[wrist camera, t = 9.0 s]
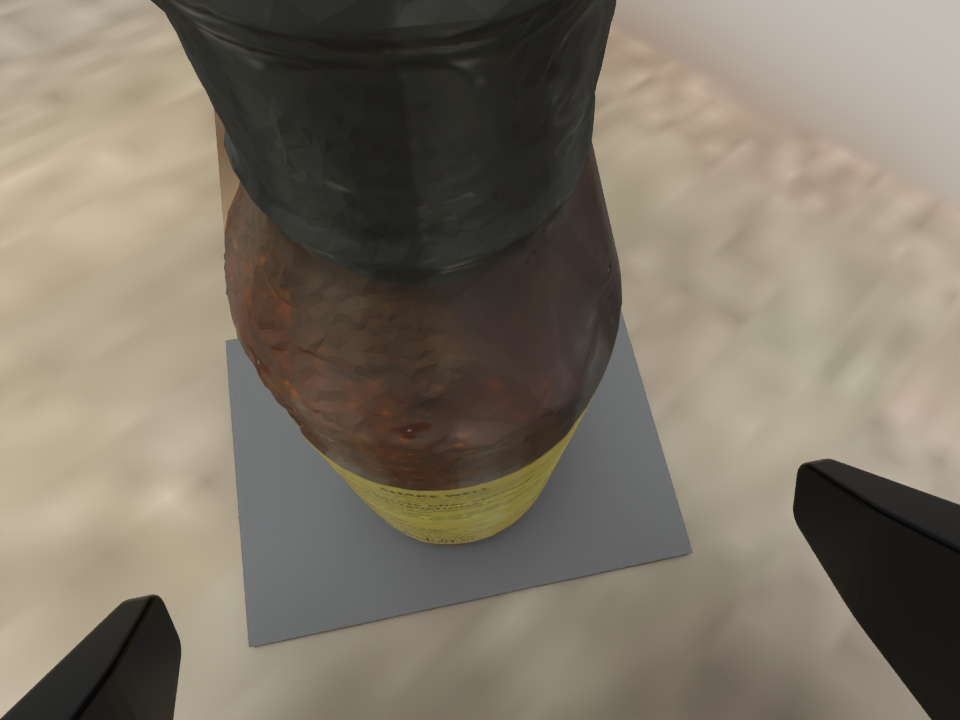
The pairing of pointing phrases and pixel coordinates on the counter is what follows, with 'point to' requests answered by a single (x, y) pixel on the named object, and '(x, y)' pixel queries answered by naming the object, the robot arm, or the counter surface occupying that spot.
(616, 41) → the counter surface
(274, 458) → the charcoal mat
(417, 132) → the sauce bottle
